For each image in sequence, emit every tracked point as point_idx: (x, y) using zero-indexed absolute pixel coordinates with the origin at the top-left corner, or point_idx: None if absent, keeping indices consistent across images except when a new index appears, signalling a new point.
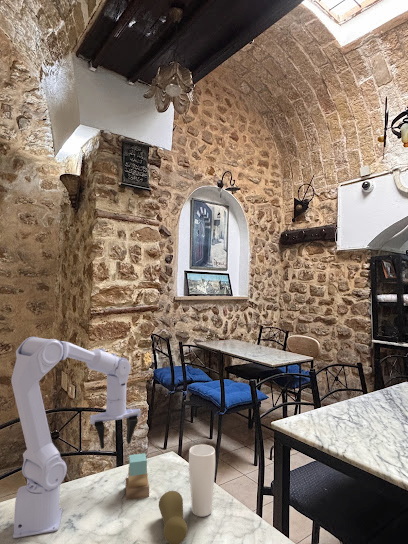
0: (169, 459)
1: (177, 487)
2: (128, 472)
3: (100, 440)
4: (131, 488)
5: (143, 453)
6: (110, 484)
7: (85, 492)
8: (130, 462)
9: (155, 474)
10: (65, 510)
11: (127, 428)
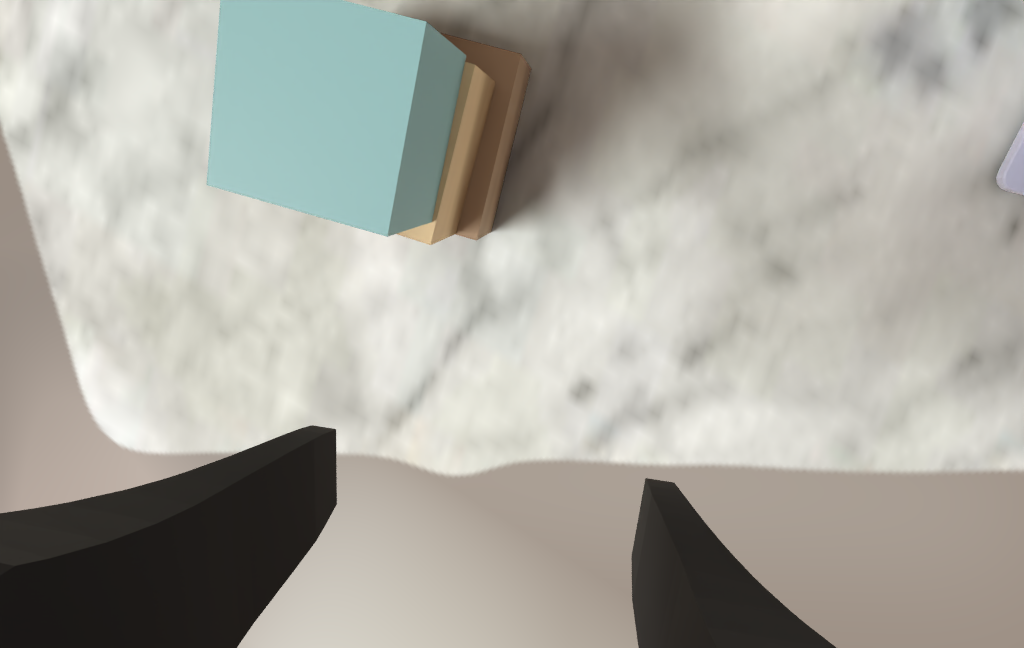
0: (134, 408)
1: (165, 37)
2: (445, 230)
3: (728, 550)
4: (480, 51)
5: (225, 185)
6: (571, 329)
7: (758, 325)
8: (421, 24)
9: (262, 282)
10: (966, 173)
11: (227, 626)
